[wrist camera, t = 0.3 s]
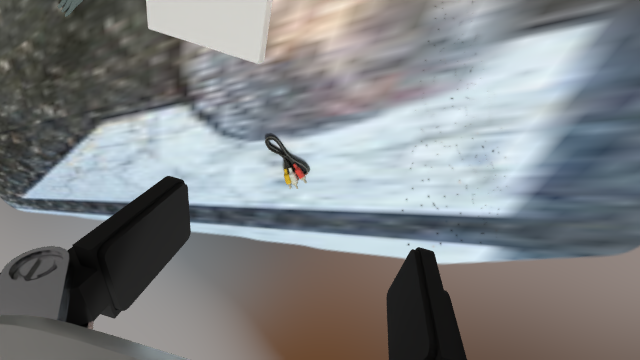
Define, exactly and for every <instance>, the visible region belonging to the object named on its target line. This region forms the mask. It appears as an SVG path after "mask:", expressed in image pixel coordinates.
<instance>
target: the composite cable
mask: <svg viewBox="0 0 640 360" xmlns="http://www.w3.org/2000/svg"><path fill="white" fill-rule="evenodd" d="M269 140H274V141H275V142H276V143H277V144H278V145H279V146H280V148H281V149H282V151H283V152H282V151H280V150H279V149H277V148H275V147H274V146H272V145H271V144H270V142H269ZM265 143H266V146H267V147H268V149H269V150H271V151H272V152H274V153H276V154H279V155H280V156H282V157H283V158H284V172H285V173H284V178H285V181H286V184H287V185H289V188H290V189H291V188H292V187H291V183H292V184H293V185H295V187H296V189H298V186H297V184H298V180H299V178H300V179H301V180H303V181H304V182H305V183H307V182H306V180H305V178H306V177H305V175H307V174H308V172H309V171H310V168H309V167H308V166H307V164H305V163H304V162H302V161H300V160H298V159H296V158H294V157H293V156H291V155H290V154H289V153H288V152H287V150H286V149H285V147H284V146H283V145H282V143H281V142H280V141H279V140H278V139H277V138H276V137H274V136H269V137H267V138H266V140H265ZM294 162H296V163H298V164H300V165H302V166H303V167H304V168H305V169H306V171H302V169H301V168H300V167H298V166H297V165H296V163H294ZM288 170H289V172H290V173H289V172H288ZM298 177H299V178H298Z"/></svg>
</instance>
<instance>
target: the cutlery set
mask: <svg viewBox="0 0 640 360" xmlns="http://www.w3.org/2000/svg"><path fill="white" fill-rule="evenodd" d="M82 1H83V0H62V1H61V3H60V4H59V5H58V8H61V7H62V6H63V5H64V4H65V3H66V4H65V6H64V8H63V9H62V10H61V11H62V12H64V11H66V10H67V9H68V8H69V6H70V8H69V9H68V11H67V12H66V14H65V16H68V15H69V14H70V13H71V12H72V11H73V10H74V9H75V8H76V6H78V5H79V4H80V3H81V2H82Z"/></svg>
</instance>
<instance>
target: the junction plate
mask: <svg viewBox="0 0 640 360" xmlns="http://www.w3.org/2000/svg"><path fill="white" fill-rule="evenodd" d="M272 1H273V0H146V4H147V18H148V29H151V30H154V31H157V32H161V33H164V34H167V35H170V36H173V37H176V38H179V39H182V40H185V41H188V42H192V43H195V44H198V45H201V46H204V47H207V48H210V49H213V50H216V51H220V52H223V53H226V54H229V55H232V56H235V57H238V58H241V59H244V60H247V61H251V62H254V63H257V64H261V63H263V62H264V58H265V51H266V44H267V37H268V30H269V23H270V15H271V8H272Z"/></svg>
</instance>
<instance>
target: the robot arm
mask: <svg viewBox="0 0 640 360" xmlns="http://www.w3.org/2000/svg"><path fill="white" fill-rule="evenodd" d="M190 232H191V230H190V216H189V201H188V187H187V185H186V184H185V183H184V181H183V180H182V179H178V178H175V177H171V176H167V177H165V178H163V179H162V180H161V181H159V182H158V183H157V184H155V185H154V186H153V187H151V188H150V189H148V190H147V191H146V192H144V193H143V194H142V195H140V196H139V197H137V198H136V199H135V200H133V201H132V202H131V203H129V204H128V205H127V206H125V207H124V208H122V209H121V210H120V211H118V212H117V213H116V214H114V215H113V216H111V217H110V218H109V219H107V220H106V221H105V222H103V223H102V224H101V225H99V226H98V227H96V228H95V229H94V230H92V231H91V232H90V233H88V234H87V235H86V236H84V237H83V238H81V239H80V240H79V241H77V242H76V243H75V244H73V247H72V248H70V249H69V250H68V251H67V250H66V249H63V248H61V247H55V246H49V247H41V248H37V249H33V250H30V251H28V252H25V253H23V254H21V255H19V256H17V257H16V258H14V259H13V260H11V261H10V262H9V263H8V264H7V265H6V266H5V267H4V269H3V270H2V272H1V273H0V360H190V359H187V358H184V357H180V356H177V355H174V354H170V353H167V352H164V351H161V350H158V349H154V348H151V347H148V346H145V345H142V344H139V343H135V342H132V341H129V340H125V339H122V338H119V337H116V336H113V335H109V334H105V333H102V332H99V331H95V330H93V323H94V320H95V319H96V318H97V317H98V316H99V315H100V314H102V315H105V316H108V317H111V318H116V316H117V315H118V314H119V313H120V312H121V311H124V310H126V309H128V308H129V307H130V305H132V303H133V302H134V301H135V300H136V299H137V298H138V296H139V295H140V294H141V293H142V292H143V291H144V290H145V288H146V287H147V286H148V285H149V284H150V283H151V281H152V280H153V279H154V278H155V277H156V276H157V275H158V273H159V272H160V271H161V270H162V269H163V268H164V266H165V265H166V264H167V263H168V262H169V261H170V260H171V259H172V257H173V256H174V255H175V254H176V253H177V252H178V250H179V249H180V248H181V247H182V246H183V245H184V244H185V242H186V241H187V240H188V238H189V236H190ZM387 322H388V346H389V347H388V348H389V360H467V359H466V355H465V351H464V347H463V343H462V340H461V336H460V332H459V329H458V325H457V321H456V318H455V314H454V310H453V306H452V303H451V299H450V296H449V294H448V292H447V291H445V290H444V289H443V285H442V281H441V278H440V274H439V270H438V266H437V262H436V258H435V254H434V252H433V251H430V250H427V249H423V248H420V247H418V248H416V250H413V249H412V250H411V251H410V253H409V254H408V256H407V258H406V260H405V262H404V263H403V265H402V267H401V269H400V271H399V272H398V274H397V276H396V278H395V279H394V281H393V283H392V285H391V287H390V288H389V290H388V293H387Z"/></svg>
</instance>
